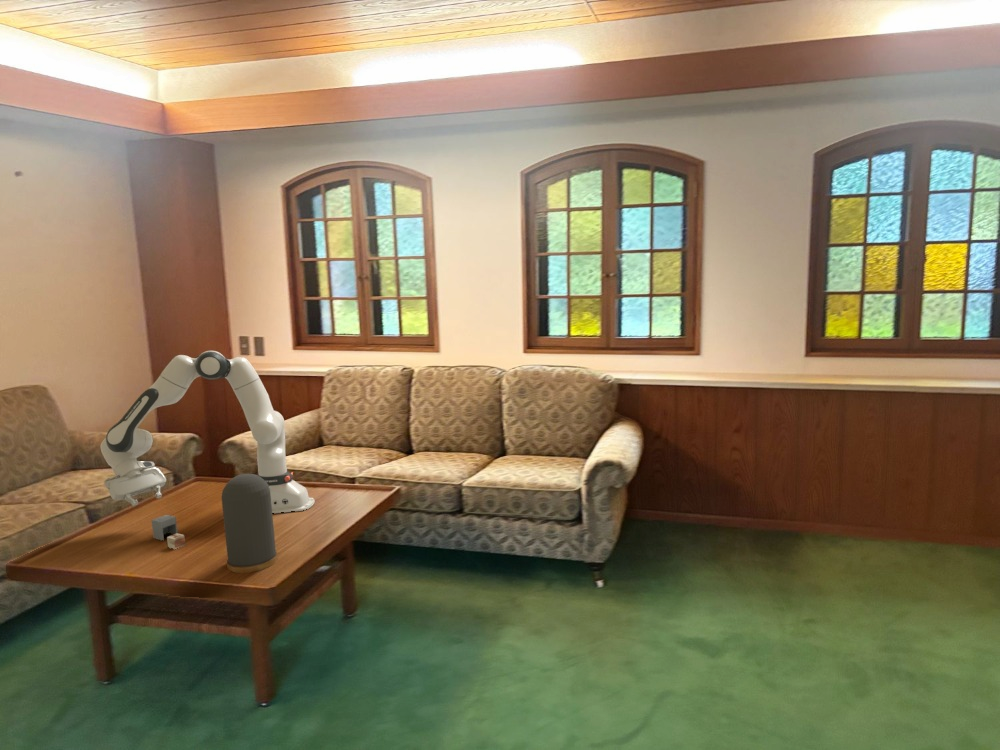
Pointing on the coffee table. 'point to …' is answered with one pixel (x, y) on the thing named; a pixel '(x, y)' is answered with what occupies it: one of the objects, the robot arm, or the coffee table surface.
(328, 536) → the coffee table surface
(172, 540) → the letter cube
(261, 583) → the coffee table surface
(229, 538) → the decorative piece
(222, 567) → the coffee table surface
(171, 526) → the slate cover
